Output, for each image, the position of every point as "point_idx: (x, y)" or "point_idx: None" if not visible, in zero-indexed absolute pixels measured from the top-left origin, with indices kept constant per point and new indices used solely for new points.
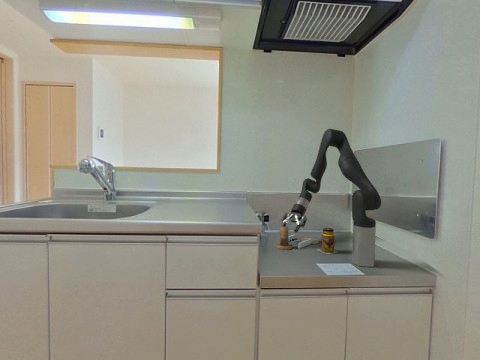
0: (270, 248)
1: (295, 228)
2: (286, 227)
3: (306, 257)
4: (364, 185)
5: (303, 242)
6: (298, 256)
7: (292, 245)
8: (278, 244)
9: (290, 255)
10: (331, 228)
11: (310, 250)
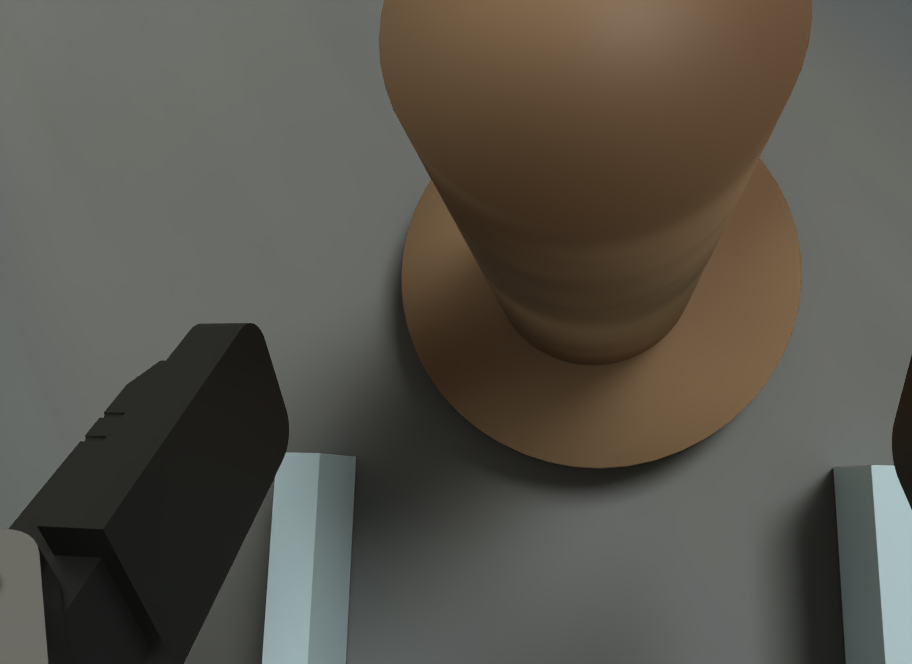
0: None
1: (171, 376)
2: (468, 64)
3: (13, 117)
4: None
5: (267, 638)
6: (125, 64)
7: (436, 380)
8: (732, 223)
9: (243, 7)
10: None
11: None
